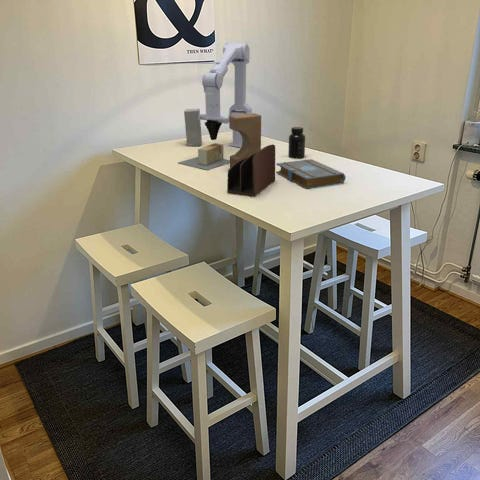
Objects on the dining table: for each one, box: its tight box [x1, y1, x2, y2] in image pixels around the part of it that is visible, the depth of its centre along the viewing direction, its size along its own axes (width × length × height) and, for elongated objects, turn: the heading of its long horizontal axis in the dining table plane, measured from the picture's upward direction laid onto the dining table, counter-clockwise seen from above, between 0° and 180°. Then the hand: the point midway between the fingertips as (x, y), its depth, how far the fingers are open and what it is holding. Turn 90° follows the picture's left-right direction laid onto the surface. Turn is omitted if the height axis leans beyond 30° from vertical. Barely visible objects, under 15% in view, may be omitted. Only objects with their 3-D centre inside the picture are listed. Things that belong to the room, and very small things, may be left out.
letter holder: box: [226, 144, 276, 198], centre depth 163 cm, size 10×20×14 cm, turn 156°
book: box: [275, 158, 346, 190], centre depth 174 cm, size 21×16×5 cm
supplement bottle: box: [288, 126, 306, 159], centre depth 200 cm, size 7×7×12 cm
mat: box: [177, 156, 230, 171], centre depth 194 cm, size 16×16×1 cm
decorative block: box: [228, 112, 262, 169], centre depth 183 cm, size 11×6×20 cm, turn 117°
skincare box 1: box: [183, 108, 203, 147], centre depth 220 cm, size 8×7×16 cm
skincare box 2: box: [197, 142, 225, 165], centre depth 193 cm, size 6×4×12 cm
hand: (213, 139), depth 194 cm, fingers closed
